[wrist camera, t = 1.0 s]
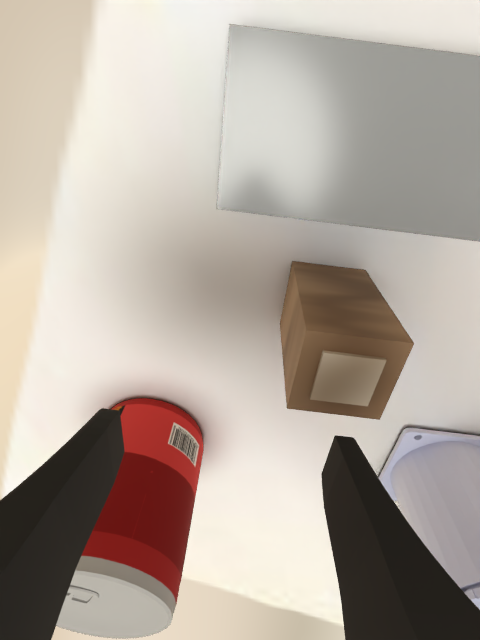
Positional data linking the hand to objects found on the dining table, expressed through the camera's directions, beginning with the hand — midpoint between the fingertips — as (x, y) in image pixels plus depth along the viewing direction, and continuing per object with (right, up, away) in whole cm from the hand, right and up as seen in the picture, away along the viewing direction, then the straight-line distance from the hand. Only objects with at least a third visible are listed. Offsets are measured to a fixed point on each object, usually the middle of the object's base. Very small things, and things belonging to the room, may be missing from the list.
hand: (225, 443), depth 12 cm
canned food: (-6, -4, +15) cm, 17 cm away
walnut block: (+5, +5, +8) cm, 11 cm away
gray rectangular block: (+6, +12, +4) cm, 14 cm away
